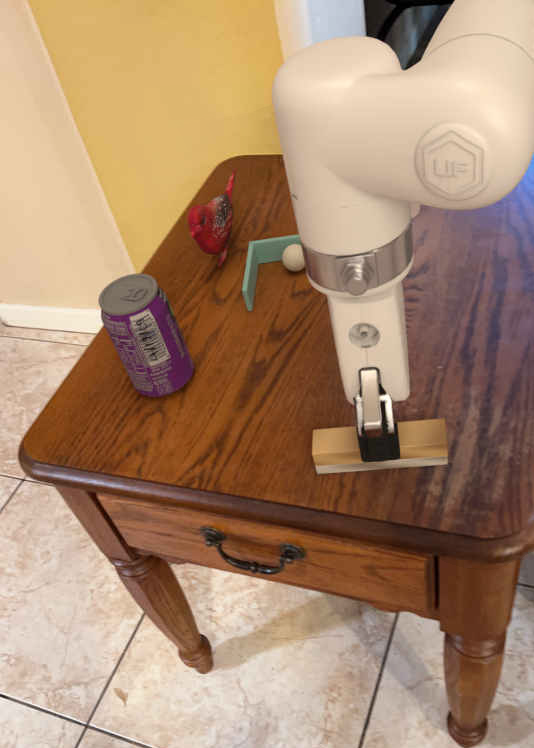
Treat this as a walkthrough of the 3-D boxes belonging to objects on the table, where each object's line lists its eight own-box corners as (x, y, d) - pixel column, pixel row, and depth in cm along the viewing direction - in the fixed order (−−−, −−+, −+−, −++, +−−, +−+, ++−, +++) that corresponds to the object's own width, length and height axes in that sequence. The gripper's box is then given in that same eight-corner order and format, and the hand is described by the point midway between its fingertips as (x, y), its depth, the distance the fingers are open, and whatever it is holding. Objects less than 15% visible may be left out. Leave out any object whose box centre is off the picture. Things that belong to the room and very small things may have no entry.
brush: (445, 439, 65) (443, 360, 58) (447, 464, 64) (446, 386, 56) (317, 450, 68) (300, 375, 60) (316, 474, 66) (298, 400, 58)
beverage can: (205, 359, 80) (172, 271, 71) (181, 404, 76) (143, 317, 67) (151, 354, 82) (113, 269, 73) (125, 398, 78) (81, 313, 69)
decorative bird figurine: (199, 292, 88) (175, 221, 80) (235, 211, 98) (217, 142, 91) (220, 291, 87) (198, 220, 80) (255, 210, 97) (238, 140, 90)
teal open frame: (388, 217, 90) (387, 195, 87) (393, 292, 80) (391, 271, 78) (258, 236, 93) (253, 216, 91) (247, 311, 84) (241, 290, 81)
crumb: (305, 236, 85) (305, 254, 83) (310, 257, 87) (310, 275, 86) (280, 240, 85) (279, 258, 84) (284, 260, 88) (284, 278, 86)
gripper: (420, 321, 42) (430, 491, 55) (406, 172, 53) (417, 344, 66) (297, 336, 44) (335, 498, 57) (307, 188, 54) (337, 353, 67)
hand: (379, 415), depth 61 cm, fingers open, 9 cm apart
